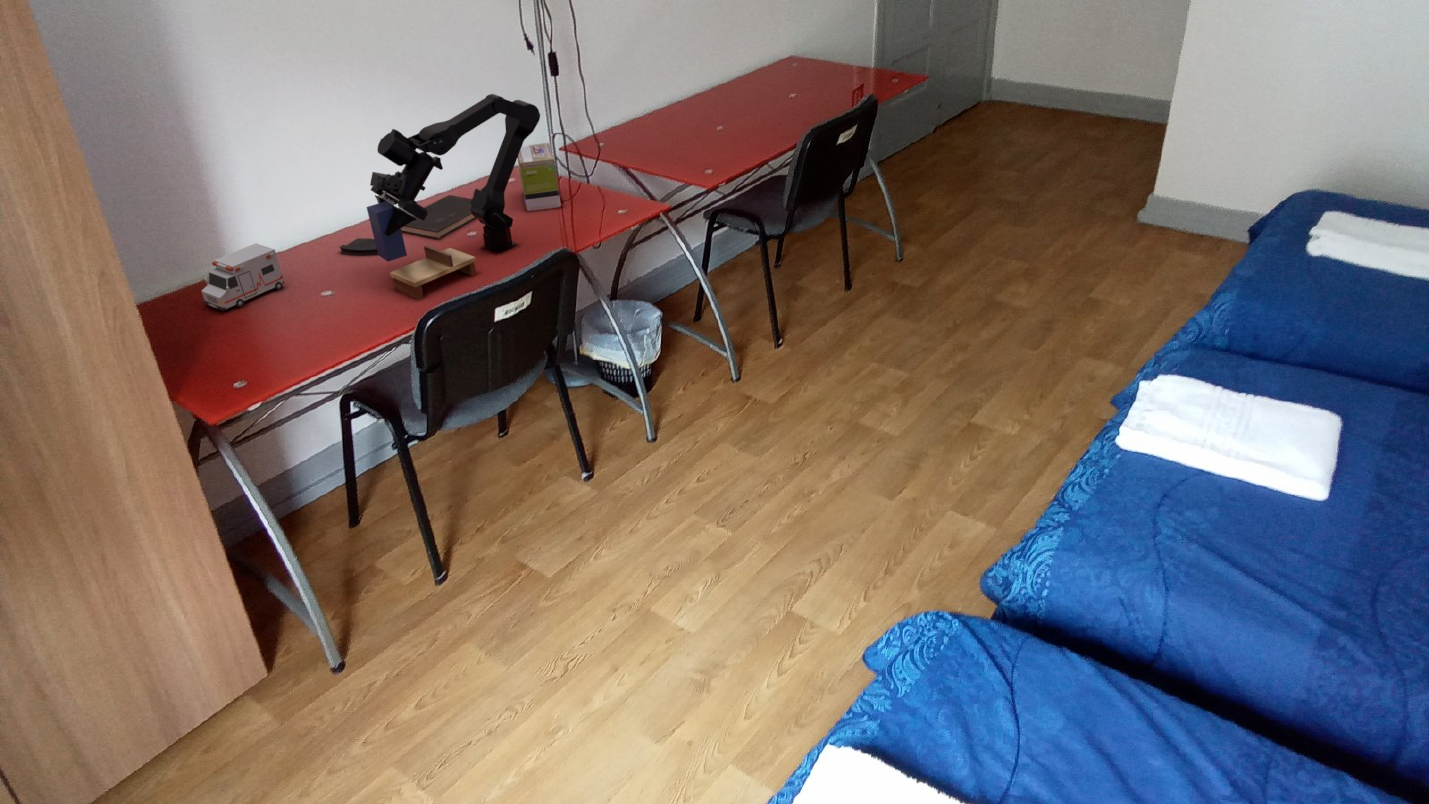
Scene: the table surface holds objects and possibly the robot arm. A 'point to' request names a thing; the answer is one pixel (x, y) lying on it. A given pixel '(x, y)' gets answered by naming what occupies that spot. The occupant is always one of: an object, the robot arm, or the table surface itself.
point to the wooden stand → (431, 269)
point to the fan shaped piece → (360, 247)
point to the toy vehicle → (242, 276)
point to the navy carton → (379, 220)
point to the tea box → (538, 177)
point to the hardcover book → (442, 218)
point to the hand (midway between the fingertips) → (381, 231)
